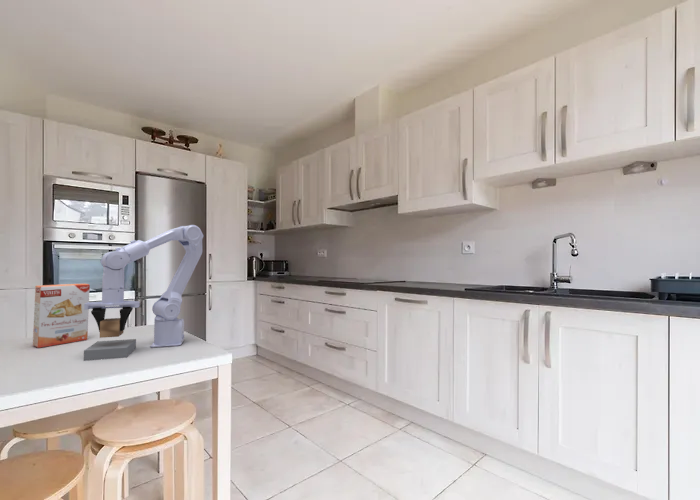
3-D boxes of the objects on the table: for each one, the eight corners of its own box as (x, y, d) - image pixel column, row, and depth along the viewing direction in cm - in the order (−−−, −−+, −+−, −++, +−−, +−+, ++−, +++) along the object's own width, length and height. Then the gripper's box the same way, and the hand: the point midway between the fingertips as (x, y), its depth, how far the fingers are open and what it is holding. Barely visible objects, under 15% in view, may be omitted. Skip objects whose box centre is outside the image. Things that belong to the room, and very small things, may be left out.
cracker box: (38, 348, 110) (40, 286, 110) (32, 346, 113) (34, 285, 113) (88, 340, 121) (90, 283, 122) (81, 337, 125) (83, 282, 125)
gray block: (135, 349, 112) (136, 338, 112) (126, 358, 102) (126, 347, 102) (97, 351, 109) (97, 341, 109) (83, 362, 98) (83, 350, 98)
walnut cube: (123, 333, 109) (123, 317, 109) (118, 336, 104) (118, 320, 104) (105, 334, 107) (105, 318, 107) (99, 337, 102) (100, 321, 102)
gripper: (80, 290, 99) (79, 335, 99) (135, 289, 104) (134, 332, 104) (90, 288, 106) (88, 330, 106) (141, 287, 111) (140, 327, 111)
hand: (112, 330), depth 105 cm, fingers closed on walnut cube, 5 cm apart
